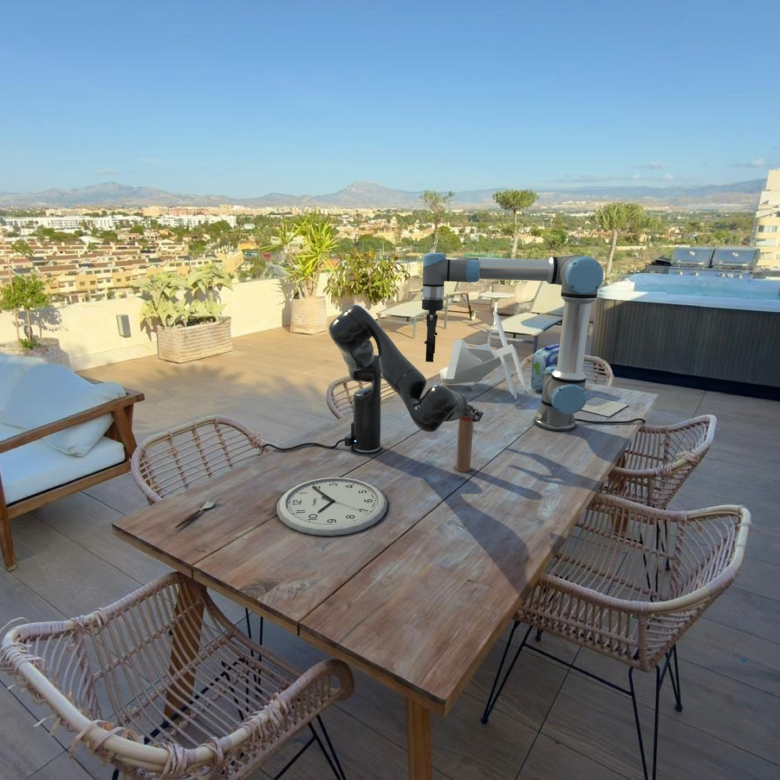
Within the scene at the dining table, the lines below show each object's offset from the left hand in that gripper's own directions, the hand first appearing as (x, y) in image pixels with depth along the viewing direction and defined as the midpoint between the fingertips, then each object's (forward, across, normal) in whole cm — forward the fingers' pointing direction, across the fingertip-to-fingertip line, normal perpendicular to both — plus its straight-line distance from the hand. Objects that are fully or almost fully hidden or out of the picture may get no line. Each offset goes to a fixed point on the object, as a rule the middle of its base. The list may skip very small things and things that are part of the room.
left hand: (461, 404), depth 145 cm
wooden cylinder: (+21, +7, -20) cm, 30 cm away
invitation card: (+100, +40, +17) cm, 109 cm away
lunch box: (+119, +17, +14) cm, 121 cm away
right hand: (+41, -24, +5) cm, 48 cm away
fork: (-29, -44, -56) cm, 76 cm away
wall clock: (-13, -16, -40) cm, 45 cm away
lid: (+16, 0, -3) cm, 16 cm away
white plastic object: (+101, -10, -2) cm, 101 cm away
